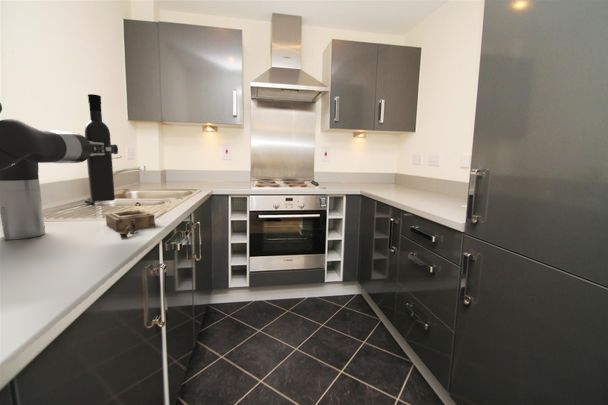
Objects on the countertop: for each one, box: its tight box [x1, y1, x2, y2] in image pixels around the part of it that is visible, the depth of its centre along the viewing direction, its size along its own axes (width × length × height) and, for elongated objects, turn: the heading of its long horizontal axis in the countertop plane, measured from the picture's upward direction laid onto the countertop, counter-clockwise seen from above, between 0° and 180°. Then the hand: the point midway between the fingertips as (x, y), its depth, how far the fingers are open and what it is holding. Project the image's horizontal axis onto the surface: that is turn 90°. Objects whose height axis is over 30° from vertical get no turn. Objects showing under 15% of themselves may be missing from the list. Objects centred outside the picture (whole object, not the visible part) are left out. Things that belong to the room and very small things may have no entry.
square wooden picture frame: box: [105, 209, 156, 233], centre depth 104 cm, size 12×12×5 cm
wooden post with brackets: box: [119, 219, 138, 239], centre depth 93 cm, size 2×8×4 cm, turn 5°
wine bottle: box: [84, 93, 116, 202], centre depth 84 cm, size 6×6×30 cm
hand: (102, 149), depth 87 cm, fingers closed on wine bottle, 7 cm apart
